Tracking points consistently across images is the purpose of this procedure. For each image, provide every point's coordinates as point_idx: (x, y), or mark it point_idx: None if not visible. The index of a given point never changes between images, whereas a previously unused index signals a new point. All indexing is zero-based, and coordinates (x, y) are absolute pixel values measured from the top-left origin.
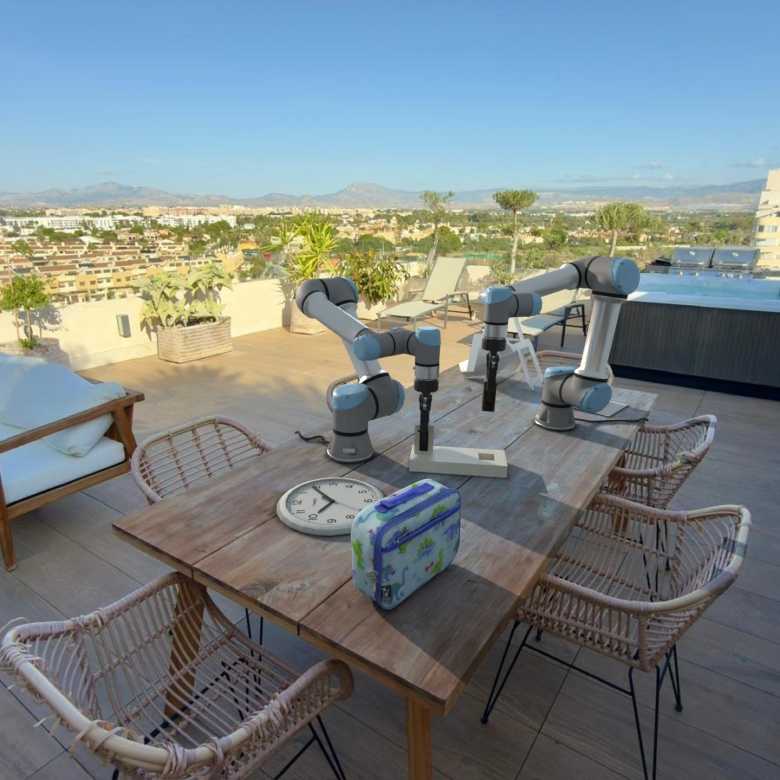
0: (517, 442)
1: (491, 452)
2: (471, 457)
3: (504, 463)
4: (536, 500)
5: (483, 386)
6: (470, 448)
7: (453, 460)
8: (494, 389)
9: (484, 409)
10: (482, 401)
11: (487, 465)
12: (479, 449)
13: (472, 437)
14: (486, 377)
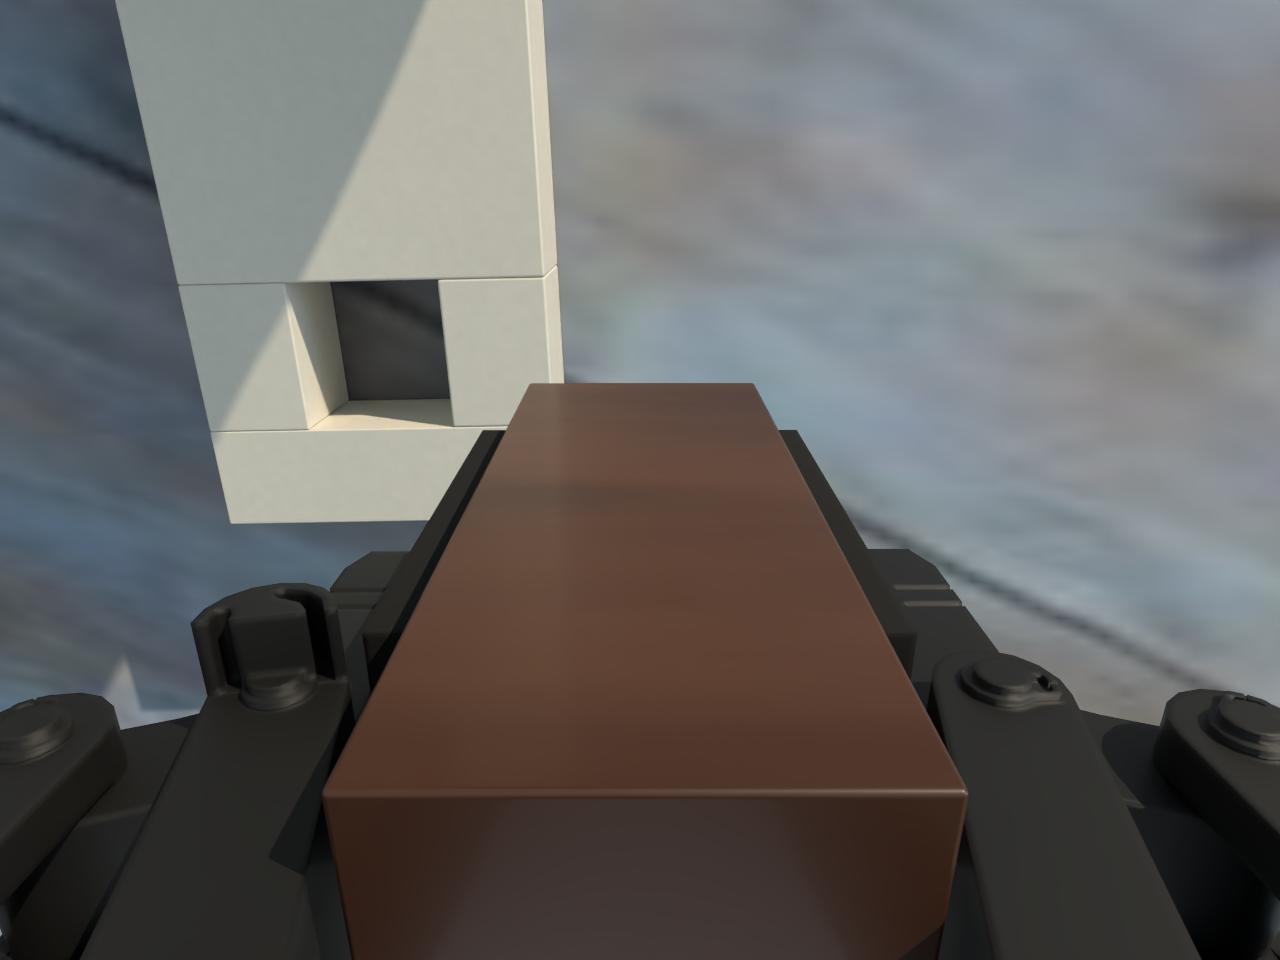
0: (972, 611)
1: (481, 405)
2: (304, 206)
3: (272, 502)
4: (21, 639)
5: (693, 596)
6: (528, 197)
7: (167, 4)
8: (19, 954)
9: (478, 439)
10: (552, 436)
11: (196, 357)
12: (525, 292)
13: (1085, 226)
14: (1092, 897)
